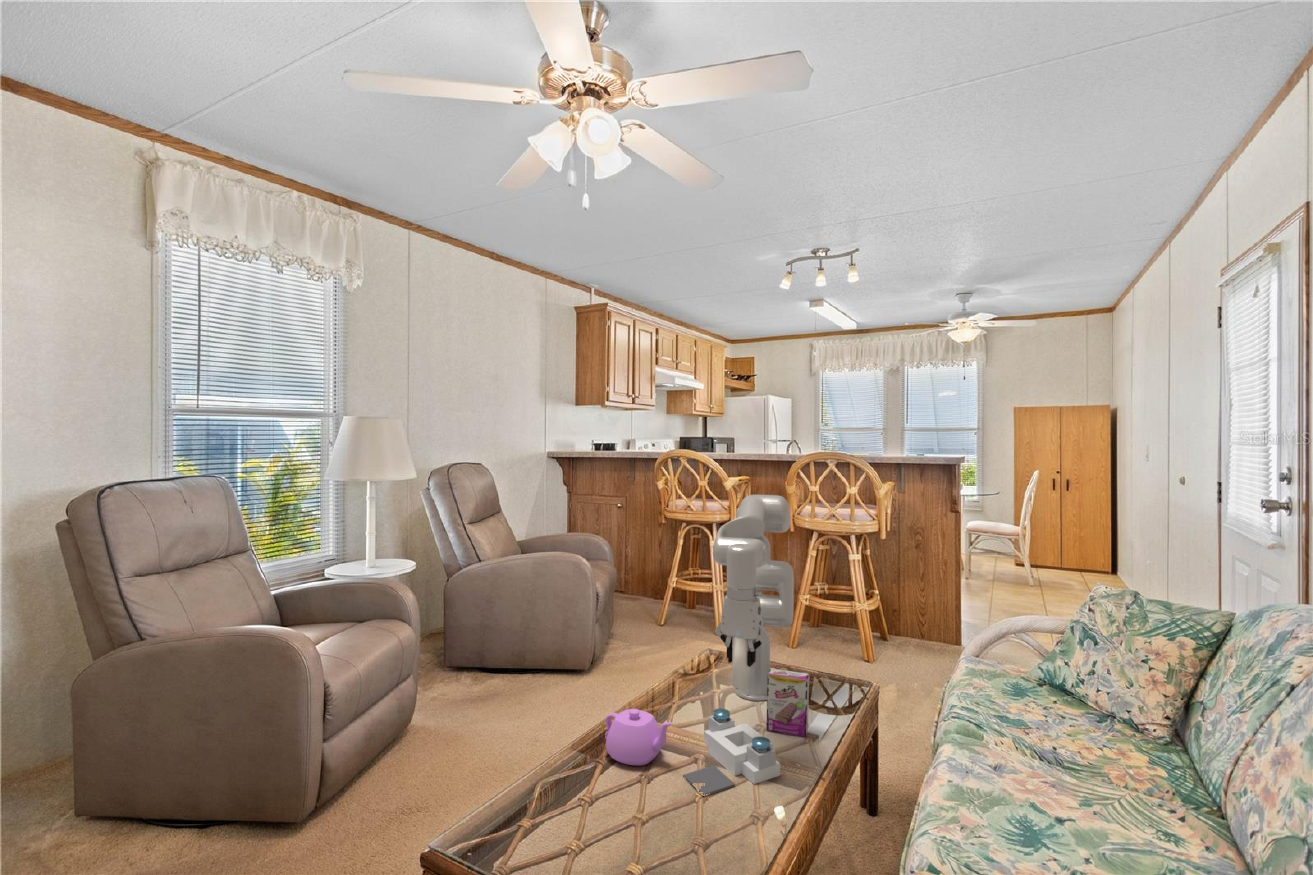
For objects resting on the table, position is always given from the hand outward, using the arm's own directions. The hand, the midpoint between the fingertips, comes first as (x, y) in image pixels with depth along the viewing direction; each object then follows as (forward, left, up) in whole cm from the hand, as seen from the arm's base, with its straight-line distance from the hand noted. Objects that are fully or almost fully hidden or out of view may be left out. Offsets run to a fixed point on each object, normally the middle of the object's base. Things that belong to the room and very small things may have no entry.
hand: (741, 662), depth 157 cm
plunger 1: (-8, 0, -21) cm, 23 cm away
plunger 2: (+9, 0, -21) cm, 23 cm away
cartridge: (0, 0, -6) cm, 6 cm away
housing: (0, 0, -25) cm, 25 cm away
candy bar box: (-5, +20, -25) cm, 32 cm away
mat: (+5, -13, -25) cm, 29 cm away
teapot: (-13, -23, -25) cm, 36 cm away
